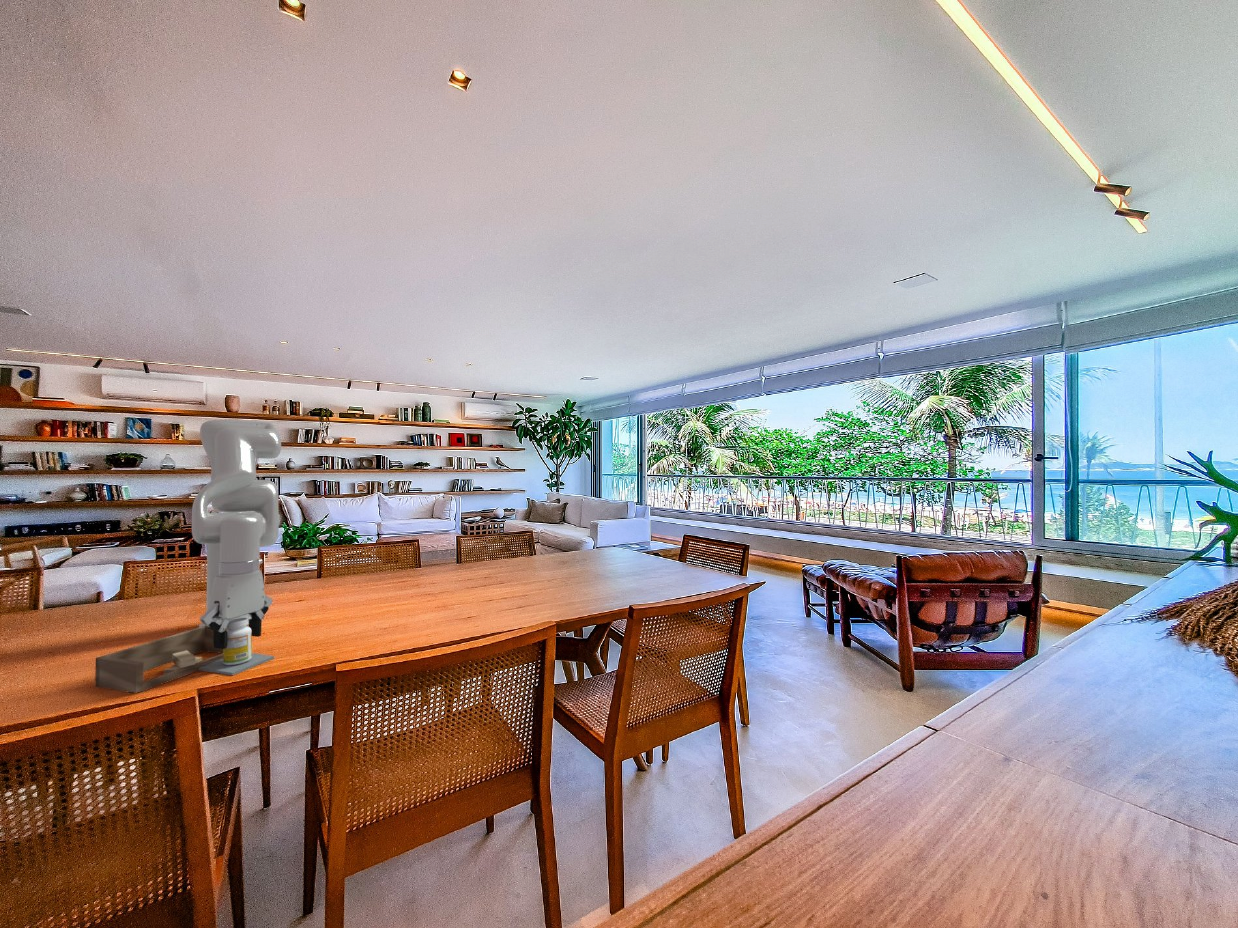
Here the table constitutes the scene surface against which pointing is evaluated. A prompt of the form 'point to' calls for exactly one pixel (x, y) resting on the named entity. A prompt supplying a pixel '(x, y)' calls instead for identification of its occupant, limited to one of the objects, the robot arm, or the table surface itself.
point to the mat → (235, 669)
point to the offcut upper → (183, 659)
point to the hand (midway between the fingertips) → (238, 641)
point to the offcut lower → (175, 667)
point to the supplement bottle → (238, 642)
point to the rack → (153, 660)
